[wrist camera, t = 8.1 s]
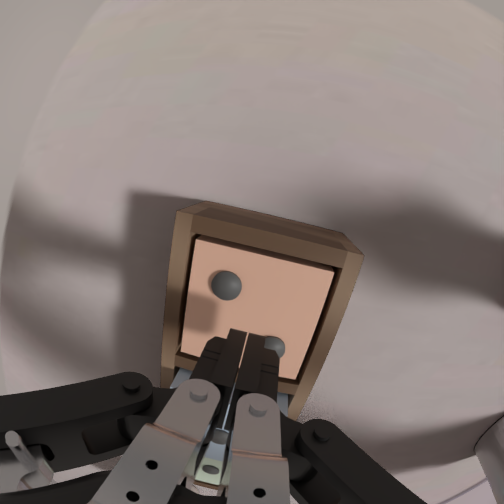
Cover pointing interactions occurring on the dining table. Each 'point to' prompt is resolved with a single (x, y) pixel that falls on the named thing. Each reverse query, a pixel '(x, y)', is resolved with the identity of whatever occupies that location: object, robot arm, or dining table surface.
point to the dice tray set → (269, 238)
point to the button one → (209, 471)
